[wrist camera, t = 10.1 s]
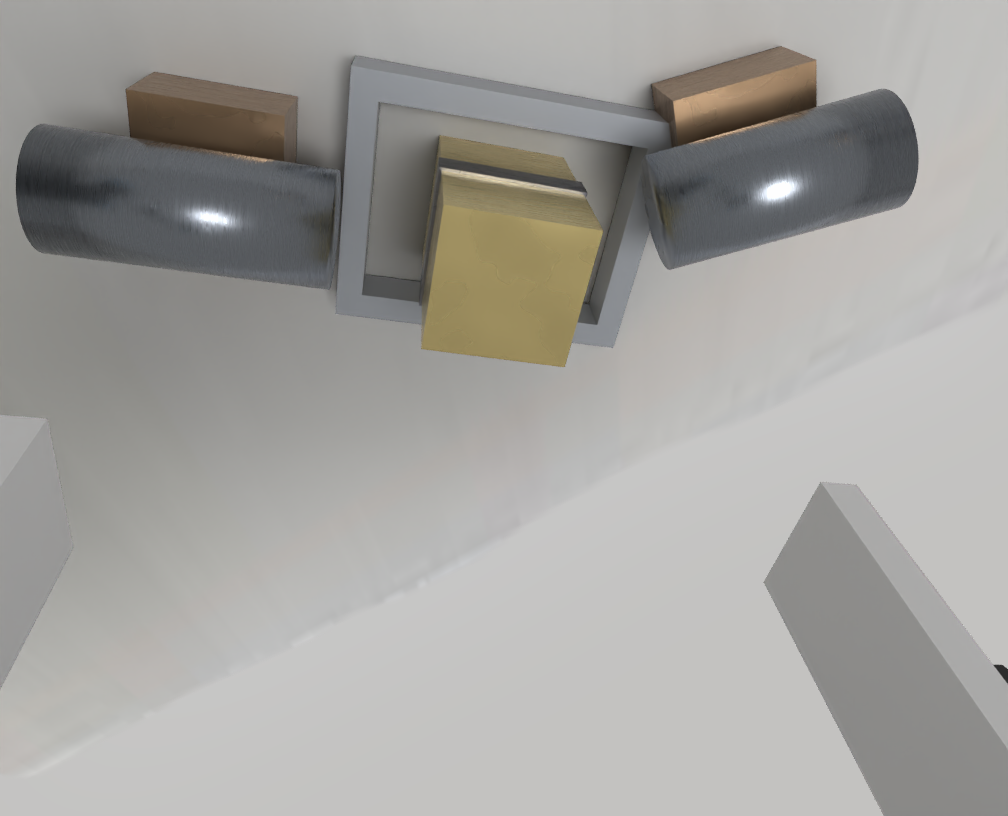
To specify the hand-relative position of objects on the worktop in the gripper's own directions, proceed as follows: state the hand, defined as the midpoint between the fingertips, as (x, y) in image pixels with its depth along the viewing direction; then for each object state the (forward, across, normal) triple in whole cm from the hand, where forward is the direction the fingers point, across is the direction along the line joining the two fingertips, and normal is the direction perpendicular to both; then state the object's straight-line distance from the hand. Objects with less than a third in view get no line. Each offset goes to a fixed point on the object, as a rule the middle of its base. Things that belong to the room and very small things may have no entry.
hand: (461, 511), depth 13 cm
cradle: (+20, +3, -1) cm, 20 cm away
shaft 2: (+19, +11, +3) cm, 23 cm away
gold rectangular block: (+20, +3, -1) cm, 20 cm away
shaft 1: (+20, -8, -1) cm, 21 cm away
